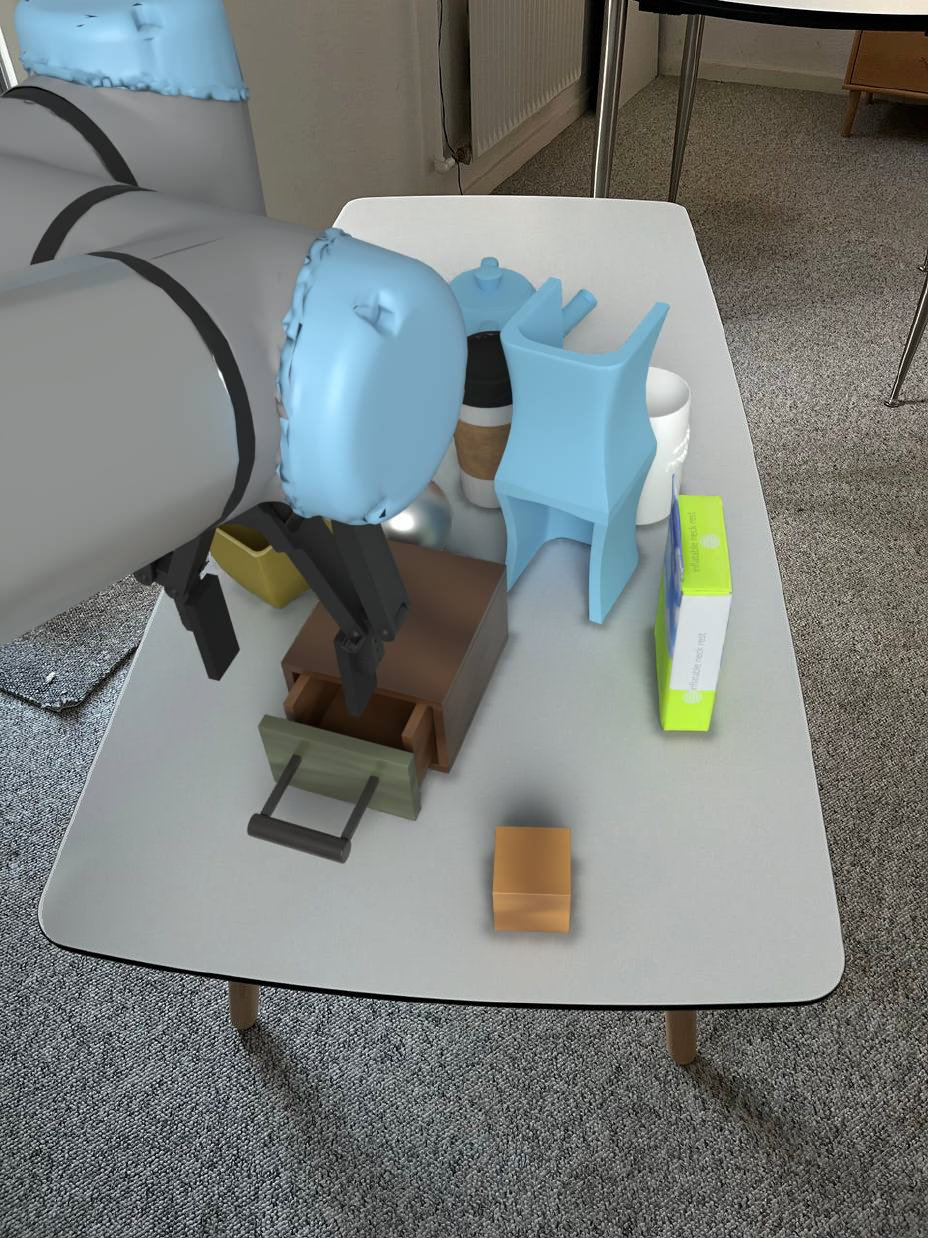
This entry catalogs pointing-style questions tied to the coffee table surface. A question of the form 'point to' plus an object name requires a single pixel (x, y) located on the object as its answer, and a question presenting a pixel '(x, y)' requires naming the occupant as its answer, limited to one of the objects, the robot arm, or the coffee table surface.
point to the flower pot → (258, 564)
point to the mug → (665, 442)
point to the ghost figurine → (423, 520)
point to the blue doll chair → (576, 444)
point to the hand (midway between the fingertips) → (292, 681)
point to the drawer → (343, 761)
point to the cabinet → (427, 641)
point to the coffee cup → (483, 418)
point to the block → (532, 879)
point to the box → (692, 611)
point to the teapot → (505, 298)
